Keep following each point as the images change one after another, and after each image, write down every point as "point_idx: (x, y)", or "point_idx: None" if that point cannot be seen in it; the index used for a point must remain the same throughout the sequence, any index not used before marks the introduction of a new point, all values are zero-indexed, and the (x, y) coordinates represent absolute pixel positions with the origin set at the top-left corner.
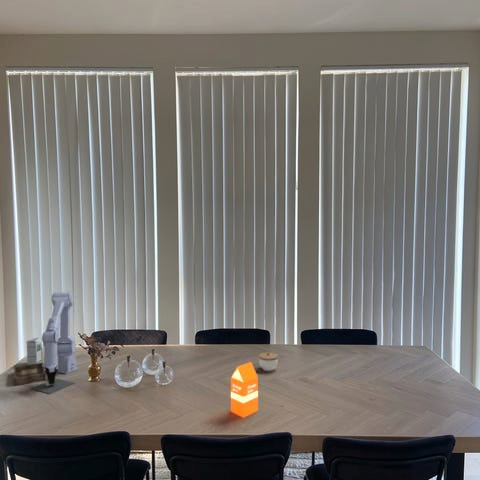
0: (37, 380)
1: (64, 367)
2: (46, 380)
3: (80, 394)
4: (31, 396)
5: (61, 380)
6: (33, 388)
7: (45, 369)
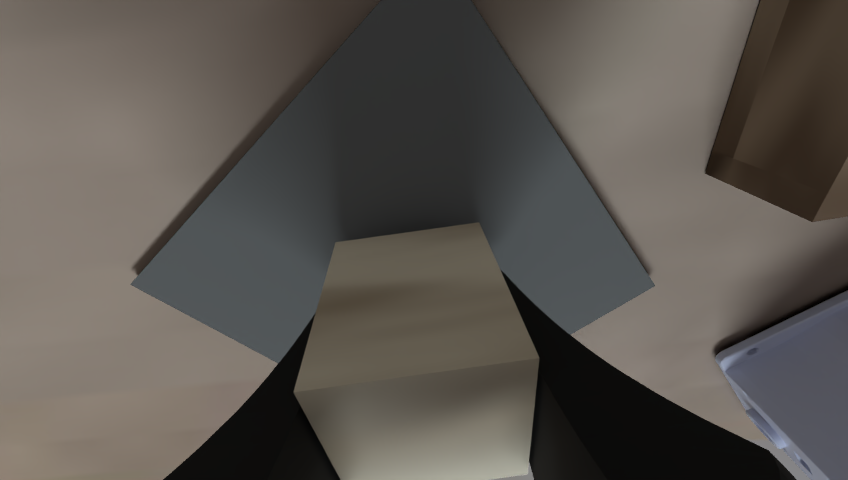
0: (765, 51)
1: (833, 391)
2: (323, 306)
3: (131, 471)
4: (30, 21)
5: None
6: (393, 17)
7: (593, 459)
